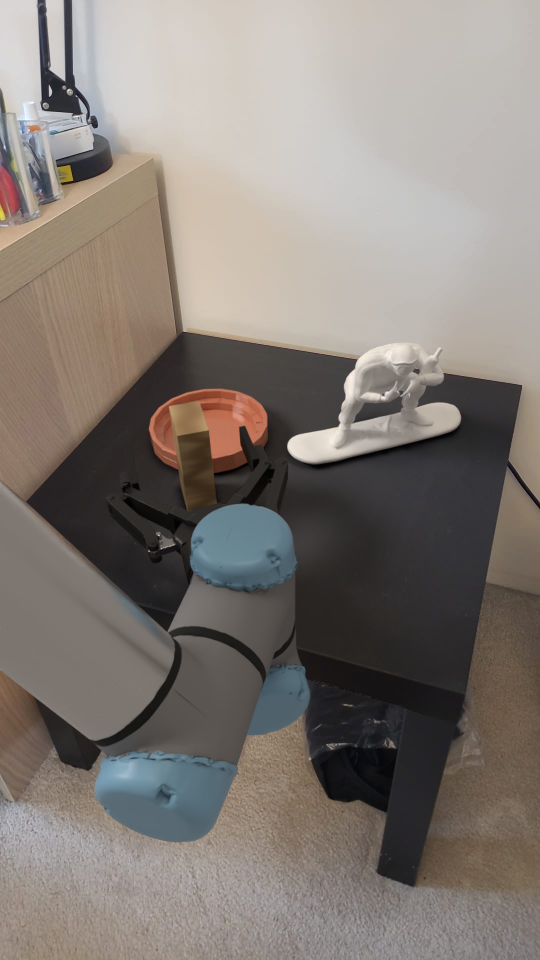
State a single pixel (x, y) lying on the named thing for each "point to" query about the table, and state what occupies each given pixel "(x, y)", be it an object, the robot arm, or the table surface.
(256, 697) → the robot arm
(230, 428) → the bowl
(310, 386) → the table surface
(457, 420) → the figurine
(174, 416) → the wooden block
